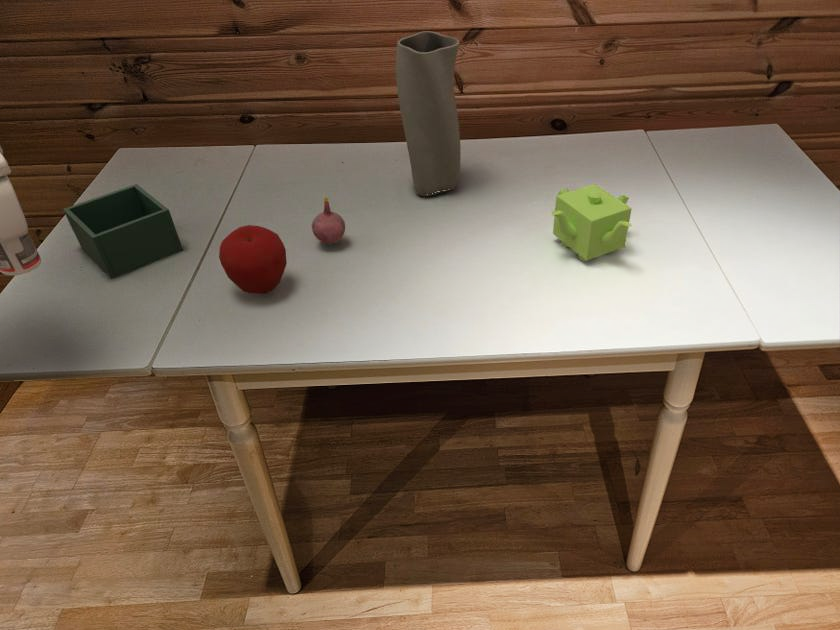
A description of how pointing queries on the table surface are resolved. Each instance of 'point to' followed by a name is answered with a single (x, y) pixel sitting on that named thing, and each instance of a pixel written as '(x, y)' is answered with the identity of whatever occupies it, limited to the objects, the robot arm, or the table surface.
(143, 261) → the bin
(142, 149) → the table surface
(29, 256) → the pill bottle
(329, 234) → the vegetable
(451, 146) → the vase
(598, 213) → the green peg cube
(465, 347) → the table surface
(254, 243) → the apple
